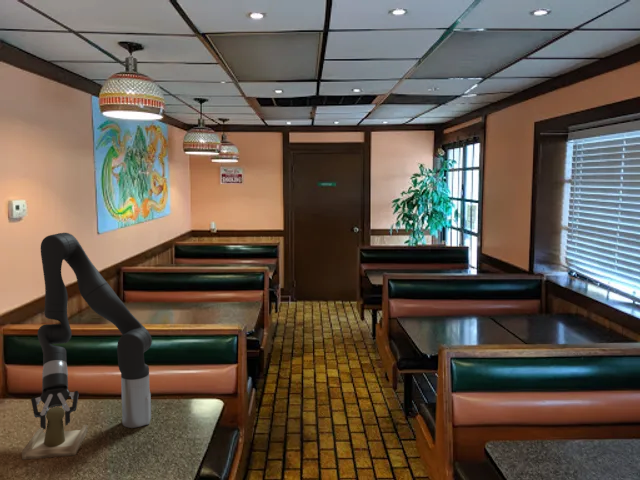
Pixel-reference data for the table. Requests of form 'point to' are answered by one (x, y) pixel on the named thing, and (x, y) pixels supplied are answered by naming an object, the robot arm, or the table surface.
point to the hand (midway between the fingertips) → (55, 426)
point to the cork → (54, 427)
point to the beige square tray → (65, 449)
